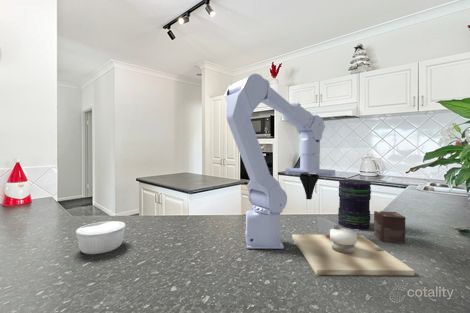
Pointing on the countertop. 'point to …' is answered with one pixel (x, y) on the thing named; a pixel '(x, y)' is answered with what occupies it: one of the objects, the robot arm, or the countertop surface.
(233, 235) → the countertop surface
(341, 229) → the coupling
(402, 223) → the box
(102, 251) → the ramekin
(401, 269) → the post board
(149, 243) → the countertop surface
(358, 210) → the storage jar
